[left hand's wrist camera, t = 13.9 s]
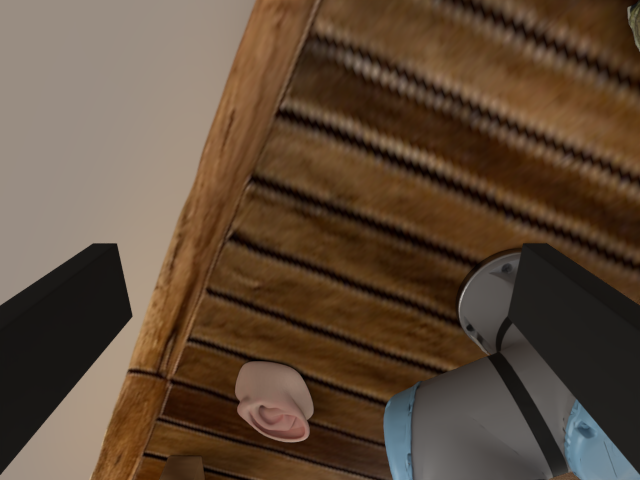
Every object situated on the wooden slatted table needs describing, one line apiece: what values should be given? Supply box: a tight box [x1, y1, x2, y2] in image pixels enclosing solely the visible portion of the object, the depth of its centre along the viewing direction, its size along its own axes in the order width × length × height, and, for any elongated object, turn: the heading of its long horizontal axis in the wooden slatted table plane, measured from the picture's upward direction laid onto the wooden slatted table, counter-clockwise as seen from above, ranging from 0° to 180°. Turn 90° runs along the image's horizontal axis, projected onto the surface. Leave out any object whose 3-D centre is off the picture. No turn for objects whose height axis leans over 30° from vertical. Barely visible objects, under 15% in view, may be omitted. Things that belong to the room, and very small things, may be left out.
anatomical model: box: [235, 361, 314, 442], centre depth 56 cm, size 13×4×12 cm
